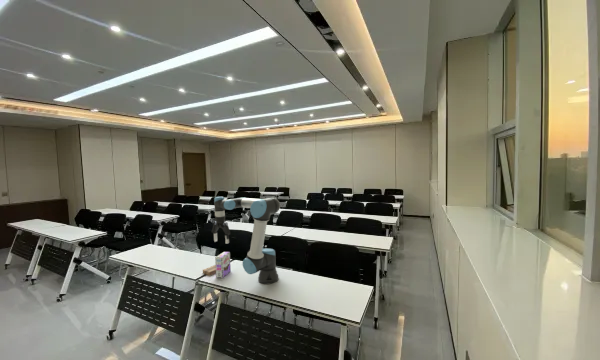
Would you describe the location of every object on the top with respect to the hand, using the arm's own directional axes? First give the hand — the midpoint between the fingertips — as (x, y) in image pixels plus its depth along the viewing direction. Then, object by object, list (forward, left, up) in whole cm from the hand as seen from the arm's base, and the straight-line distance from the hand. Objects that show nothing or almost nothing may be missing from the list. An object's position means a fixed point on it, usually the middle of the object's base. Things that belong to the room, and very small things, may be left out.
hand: (221, 242), depth 200 cm
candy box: (-1, 0, -26) cm, 26 cm away
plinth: (+11, 0, -26) cm, 29 cm away
